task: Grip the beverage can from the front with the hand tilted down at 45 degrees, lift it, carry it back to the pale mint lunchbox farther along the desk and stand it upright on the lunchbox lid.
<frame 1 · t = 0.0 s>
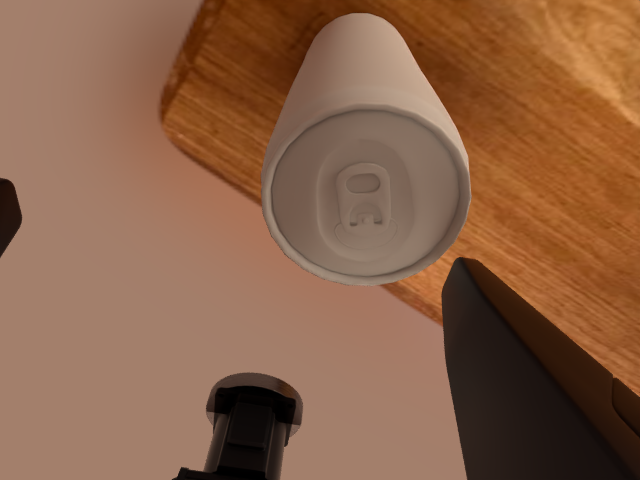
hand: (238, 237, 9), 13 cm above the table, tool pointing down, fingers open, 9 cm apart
beverage can: (356, 70, 20), on the table
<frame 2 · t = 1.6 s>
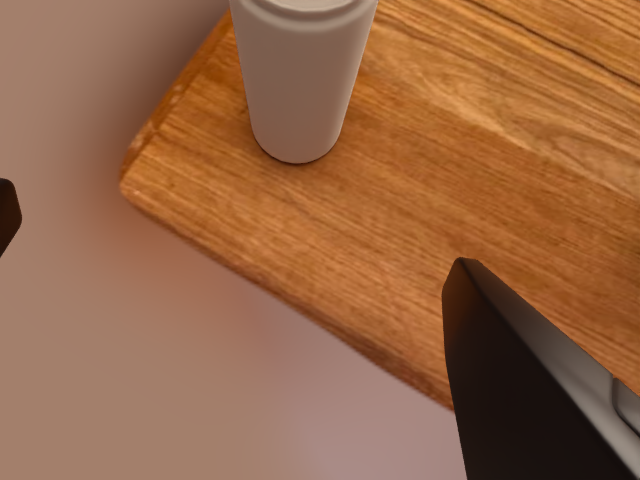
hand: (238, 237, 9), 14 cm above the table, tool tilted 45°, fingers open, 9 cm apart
beverage can: (296, 126, 24), on the table
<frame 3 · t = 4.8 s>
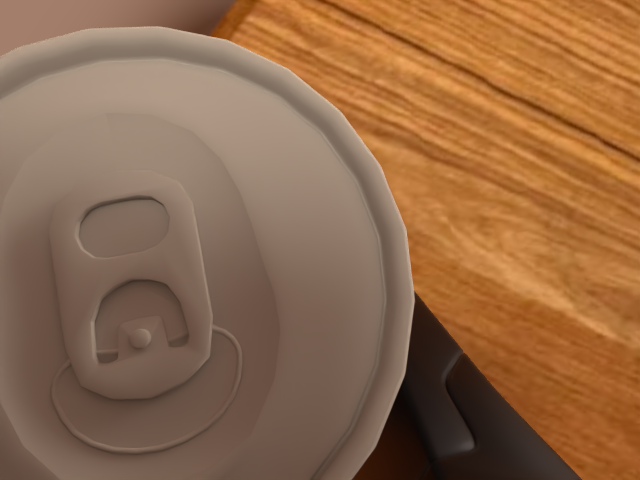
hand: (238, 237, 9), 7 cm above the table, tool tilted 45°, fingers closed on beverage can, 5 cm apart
beverage can: (250, 310, 15), on the table, touching gripper
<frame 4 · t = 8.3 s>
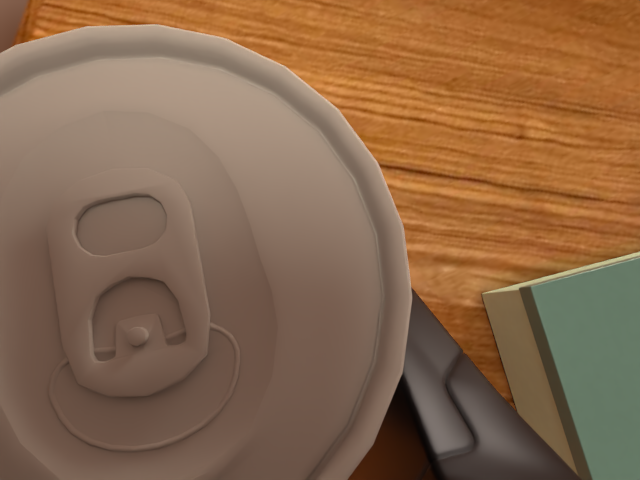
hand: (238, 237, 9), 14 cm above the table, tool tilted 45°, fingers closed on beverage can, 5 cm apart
beverage can: (250, 310, 15), point 7 cm above the table, touching gripper
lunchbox: (594, 353, 23), on the table
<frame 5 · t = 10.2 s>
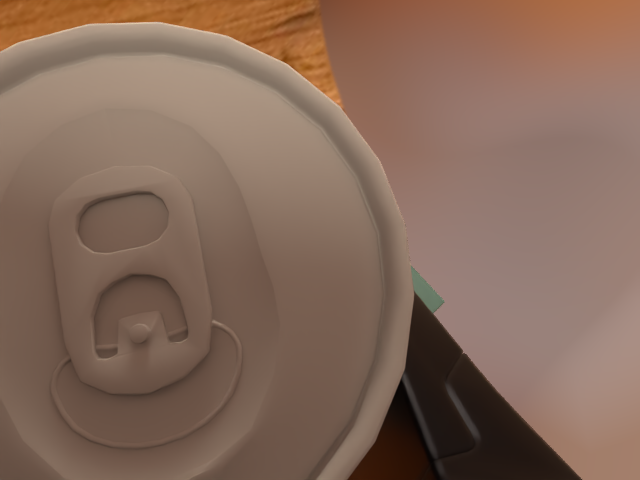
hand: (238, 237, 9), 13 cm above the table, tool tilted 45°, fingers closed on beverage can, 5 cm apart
beverage can: (250, 309, 15), point 7 cm above the table, touching gripper
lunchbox: (275, 305, 22), on the table
when the fingers open (12 cm above the table, at t = 11.7 s): beverage can stays where it is, resting on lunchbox.
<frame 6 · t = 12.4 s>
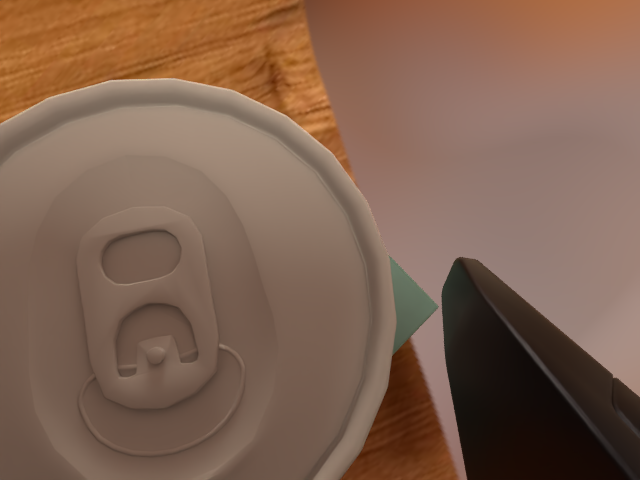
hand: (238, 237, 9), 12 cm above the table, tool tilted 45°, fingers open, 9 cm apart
beverage can: (250, 317, 16), point 5 cm above the table, touching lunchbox
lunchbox: (260, 313, 21), on the table
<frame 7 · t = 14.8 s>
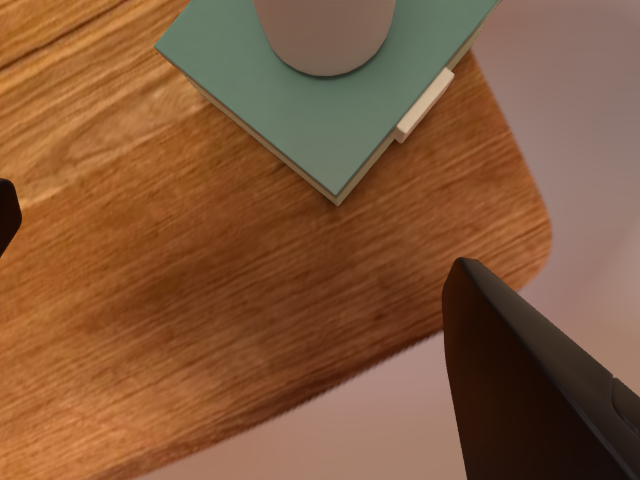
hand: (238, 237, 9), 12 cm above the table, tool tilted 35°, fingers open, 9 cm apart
beverage can: (327, 22, 17), point 5 cm above the table, touching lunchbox
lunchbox: (332, 70, 22), on the table
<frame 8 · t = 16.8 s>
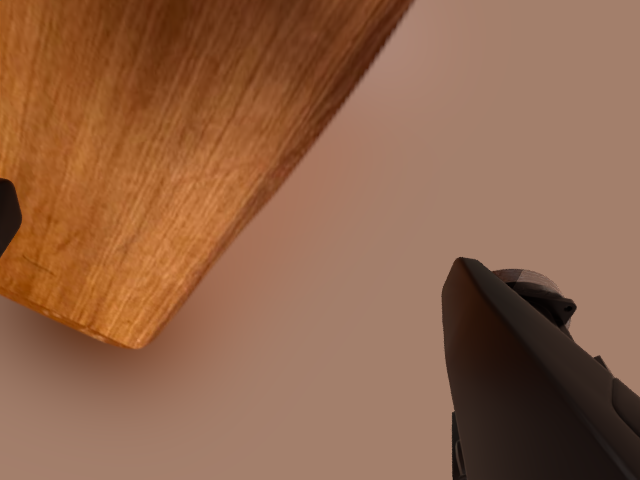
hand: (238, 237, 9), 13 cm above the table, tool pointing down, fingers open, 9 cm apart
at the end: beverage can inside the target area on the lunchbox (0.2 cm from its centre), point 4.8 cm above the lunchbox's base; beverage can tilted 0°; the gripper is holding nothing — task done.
